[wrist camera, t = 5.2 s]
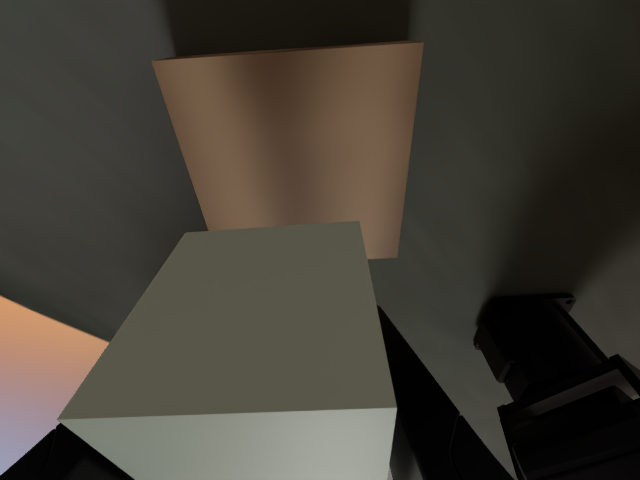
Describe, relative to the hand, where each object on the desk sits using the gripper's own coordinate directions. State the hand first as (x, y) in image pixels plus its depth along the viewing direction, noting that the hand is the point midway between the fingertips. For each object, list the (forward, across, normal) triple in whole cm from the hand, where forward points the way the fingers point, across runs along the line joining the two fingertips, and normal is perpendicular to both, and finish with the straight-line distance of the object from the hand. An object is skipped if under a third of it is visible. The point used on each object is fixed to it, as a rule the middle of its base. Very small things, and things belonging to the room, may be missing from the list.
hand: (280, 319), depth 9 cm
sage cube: (+1, 0, 0) cm, 1 cm away
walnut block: (+11, 0, -1) cm, 11 cm away
